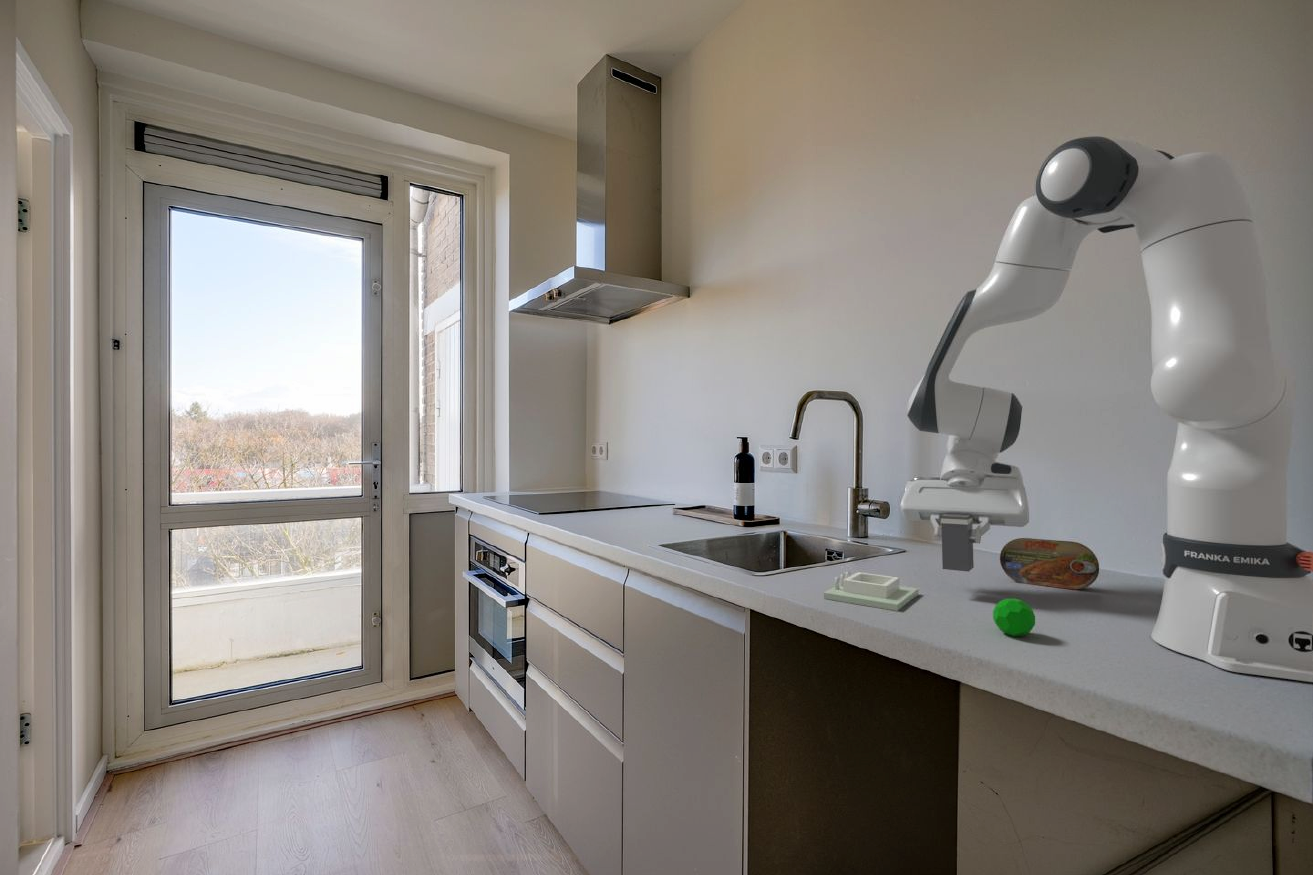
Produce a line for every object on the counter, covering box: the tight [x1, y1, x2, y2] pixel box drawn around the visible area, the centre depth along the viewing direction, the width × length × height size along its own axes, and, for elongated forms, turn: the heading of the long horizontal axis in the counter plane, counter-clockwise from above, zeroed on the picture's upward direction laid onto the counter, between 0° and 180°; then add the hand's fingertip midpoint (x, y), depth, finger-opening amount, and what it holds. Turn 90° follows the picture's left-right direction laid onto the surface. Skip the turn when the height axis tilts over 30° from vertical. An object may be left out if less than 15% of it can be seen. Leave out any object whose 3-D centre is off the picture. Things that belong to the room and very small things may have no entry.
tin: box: [999, 537, 1100, 591], centre depth 109 cm, size 15×3×8 cm, turn 51°
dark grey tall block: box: [940, 514, 975, 573], centre depth 103 cm, size 4×4×9 cm
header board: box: [823, 571, 919, 612], centre depth 103 cm, size 12×12×3 cm
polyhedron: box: [992, 598, 1036, 637], centre depth 83 cm, size 5×5×5 cm
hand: (956, 539), depth 102 cm, fingers closed on dark grey tall block, 4 cm apart
